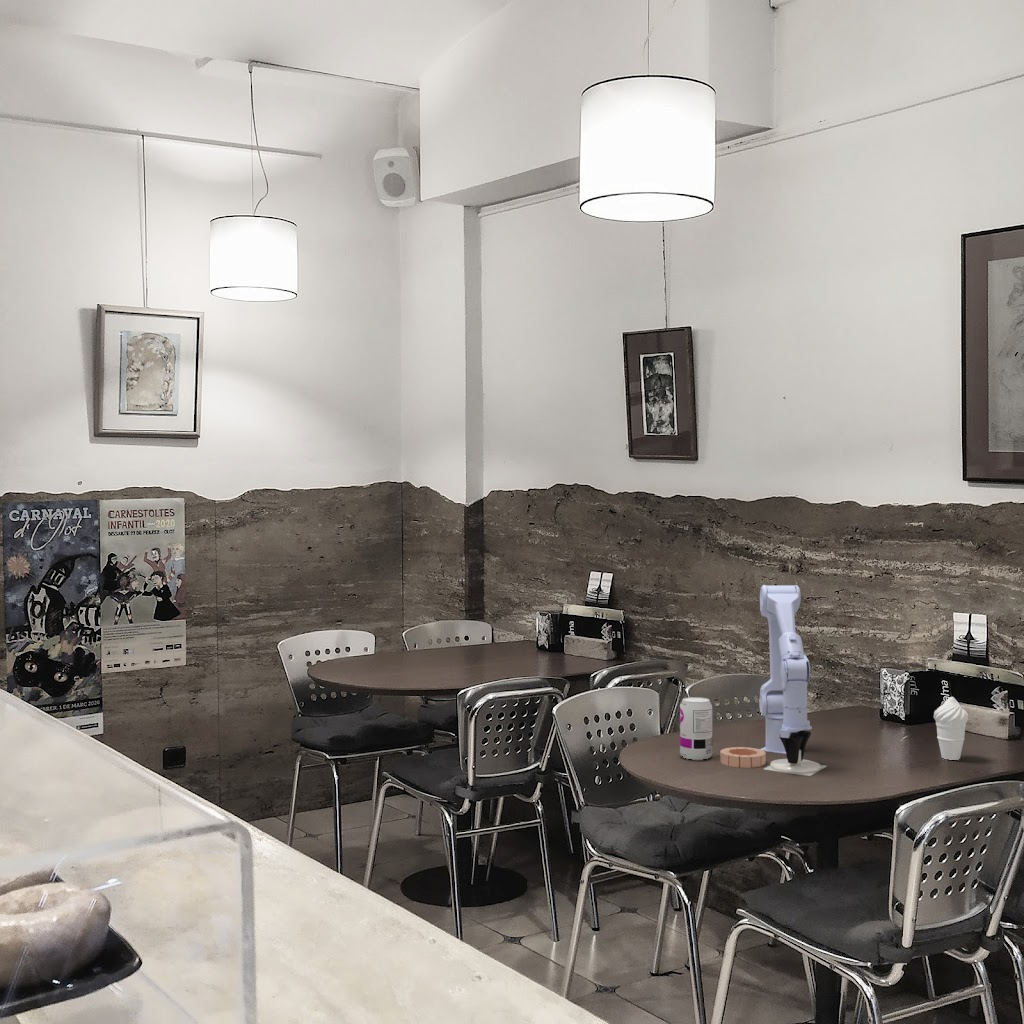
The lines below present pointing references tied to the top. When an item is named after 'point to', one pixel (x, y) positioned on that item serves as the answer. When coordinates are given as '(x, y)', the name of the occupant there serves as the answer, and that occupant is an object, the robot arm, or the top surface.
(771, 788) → the top surface
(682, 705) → the supplement can
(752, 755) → the bowl
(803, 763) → the lid
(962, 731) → the soft serve ice cream cone
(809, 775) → the mat
